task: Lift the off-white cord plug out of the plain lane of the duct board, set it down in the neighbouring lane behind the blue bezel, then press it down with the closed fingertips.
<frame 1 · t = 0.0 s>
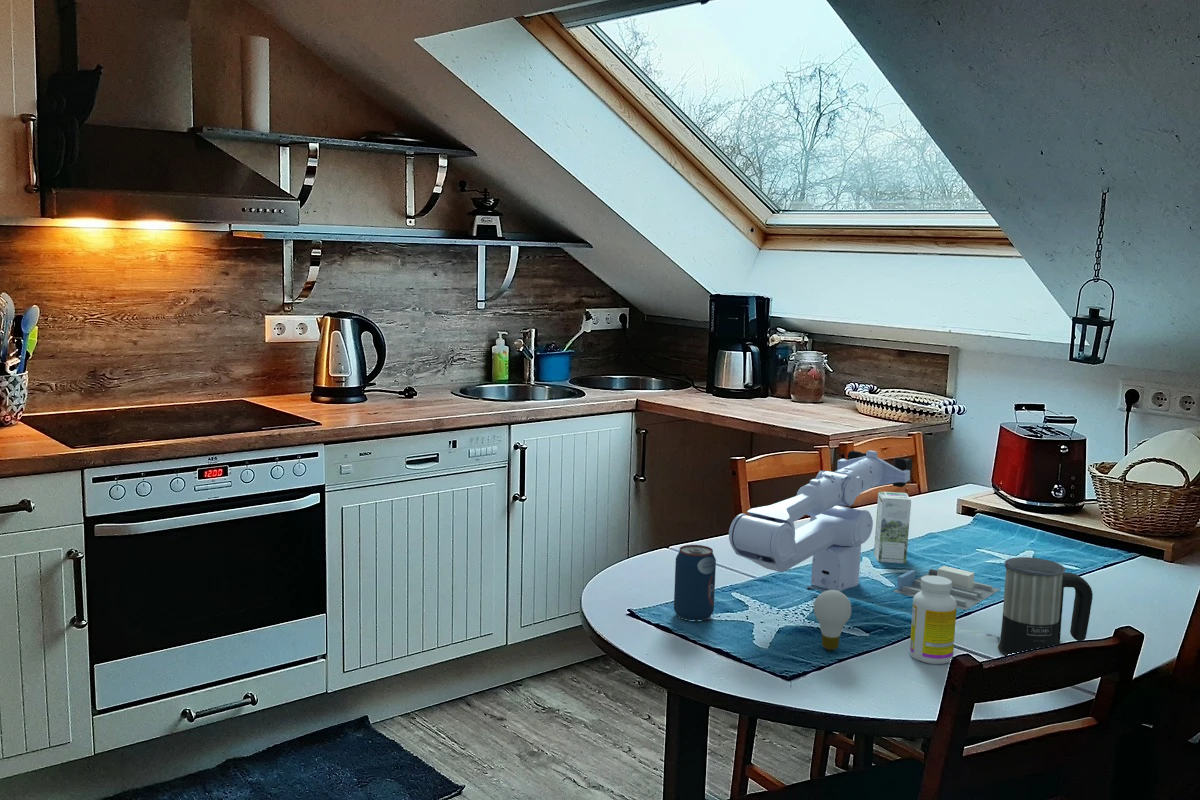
hand: (892, 460, 217), 22 cm above the table, tool horizontal, fingers open, 7 cm apart
supplement bottle: (930, 658, 172), on the table
light bulb: (829, 651, 174), on the table
duct board: (946, 595, 202), on the table
soda can: (693, 617, 188), on the table
milk frother: (1026, 645, 179), on the table
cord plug: (954, 586, 205), point 1 cm above the table, touching duct board
syrup box: (889, 564, 221), on the table
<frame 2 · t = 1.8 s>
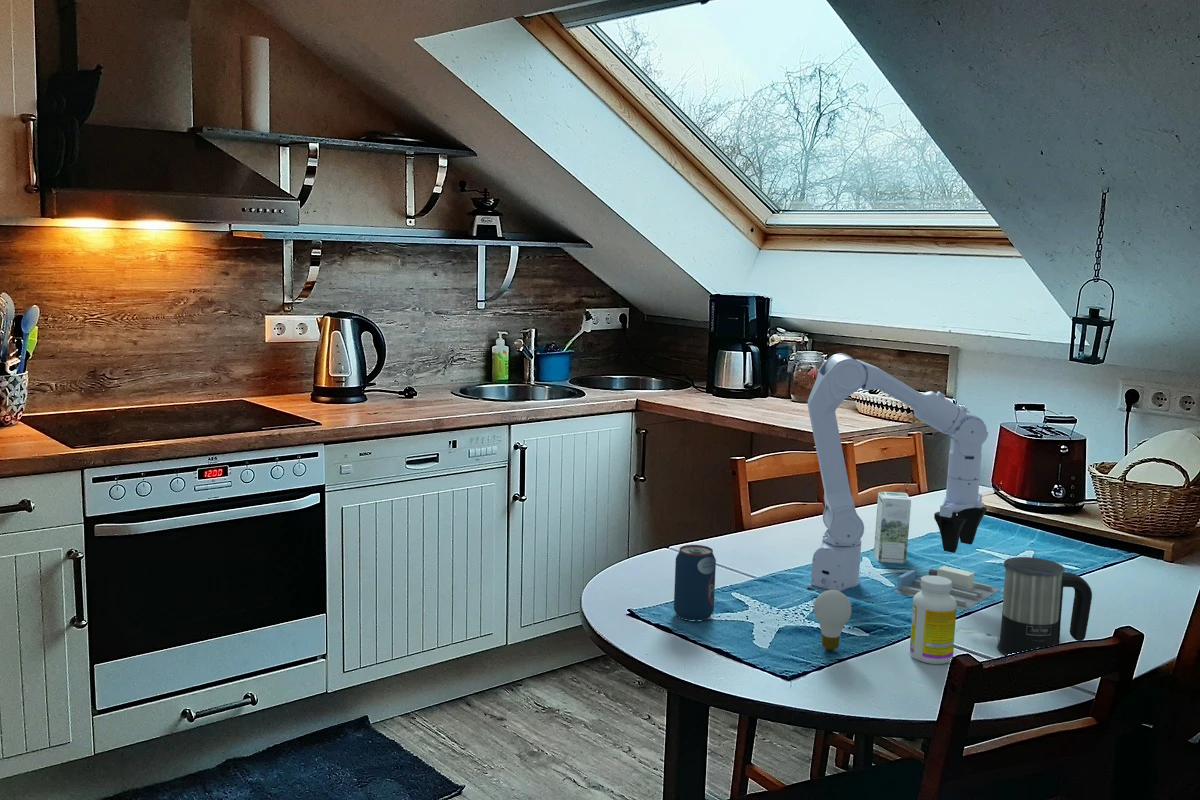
hand: (958, 547, 204), 9 cm above the table, tool pointing down, fingers open, 7 cm apart
nothing on the table moved.
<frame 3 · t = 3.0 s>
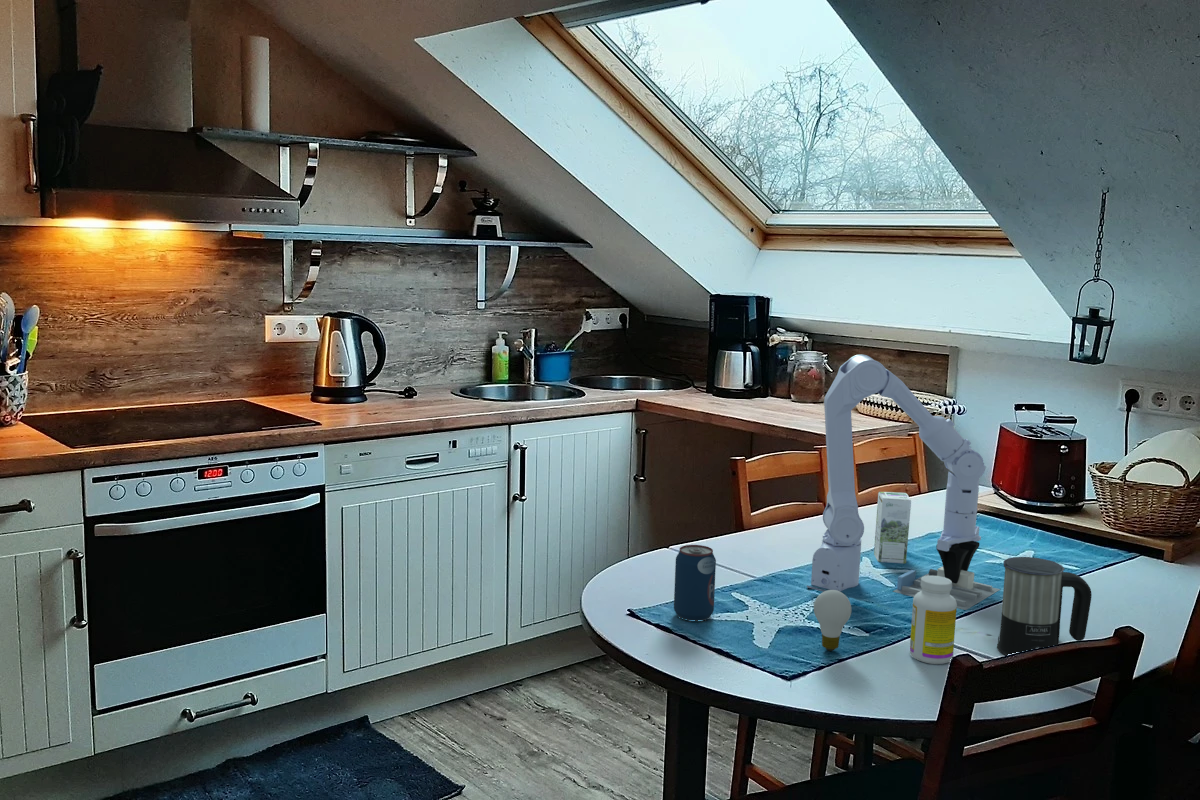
hand: (955, 579, 204), 2 cm above the table, tool pointing down, fingers closed on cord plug, 3 cm apart
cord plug: (954, 586, 205), point 1 cm above the table, touching duct board, gripper
everything else where it was.
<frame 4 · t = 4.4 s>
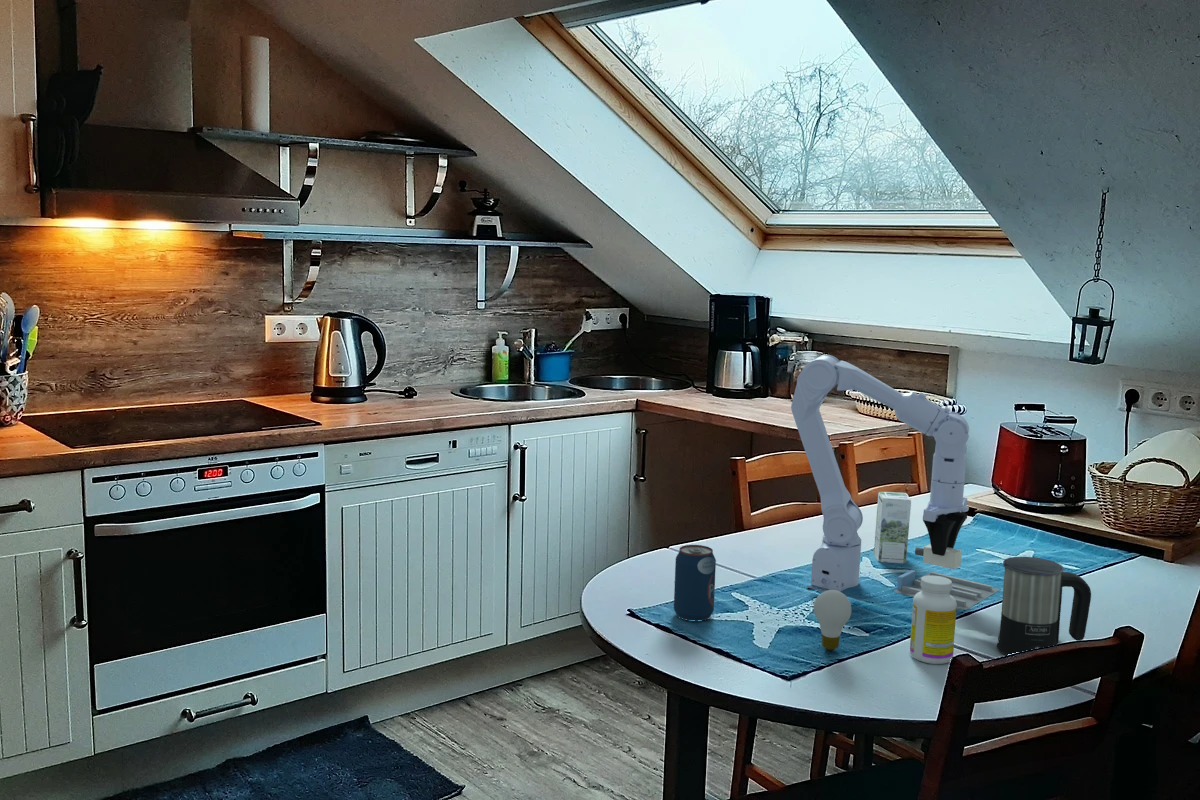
hand: (942, 552, 198), 9 cm above the table, tool pointing down, fingers closed on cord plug, 3 cm apart
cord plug: (941, 564, 199), point 7 cm above the table, touching gripper
everything else where it was.
when the fingers open (3 cm above the table, at t = 5.7 s): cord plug stays where it is, resting on duct board.
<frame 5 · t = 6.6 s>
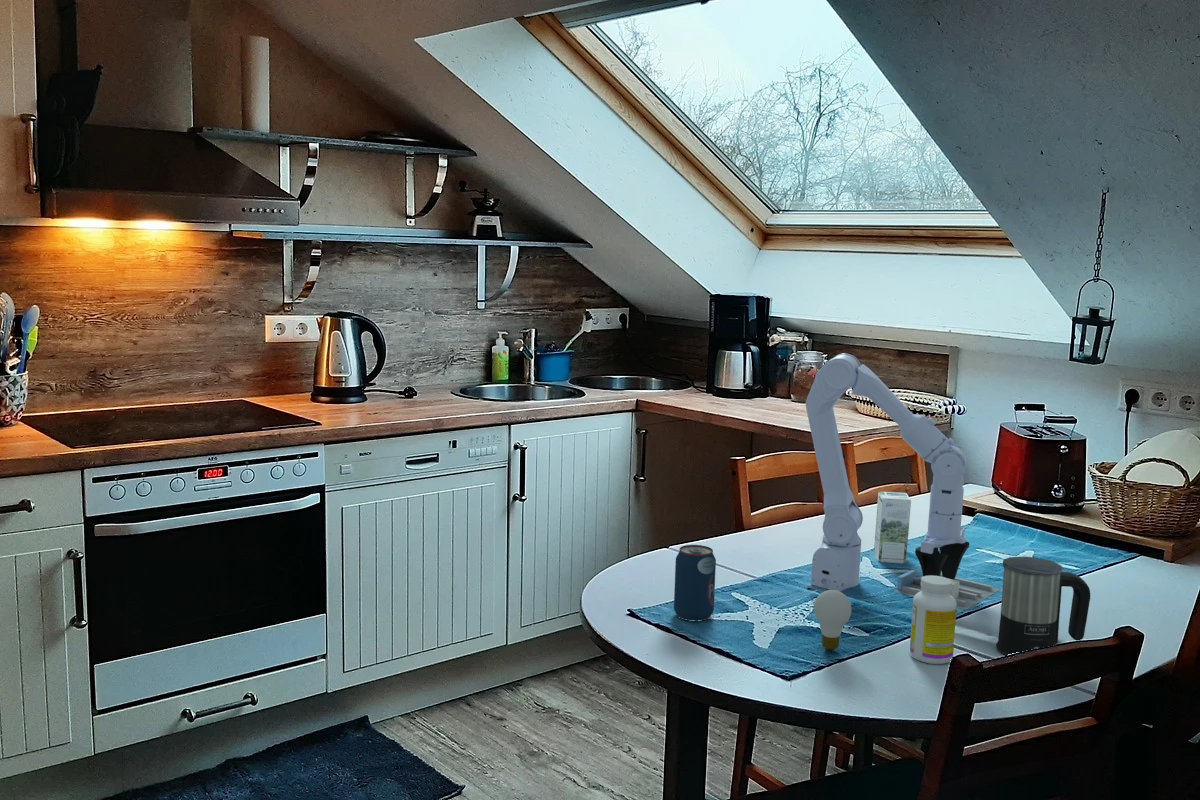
hand: (939, 583, 199), 3 cm above the table, tool pointing down, fingers open, 7 cm apart
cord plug: (939, 594, 199), point 1 cm above the table, touching duct board
everything else where it was.
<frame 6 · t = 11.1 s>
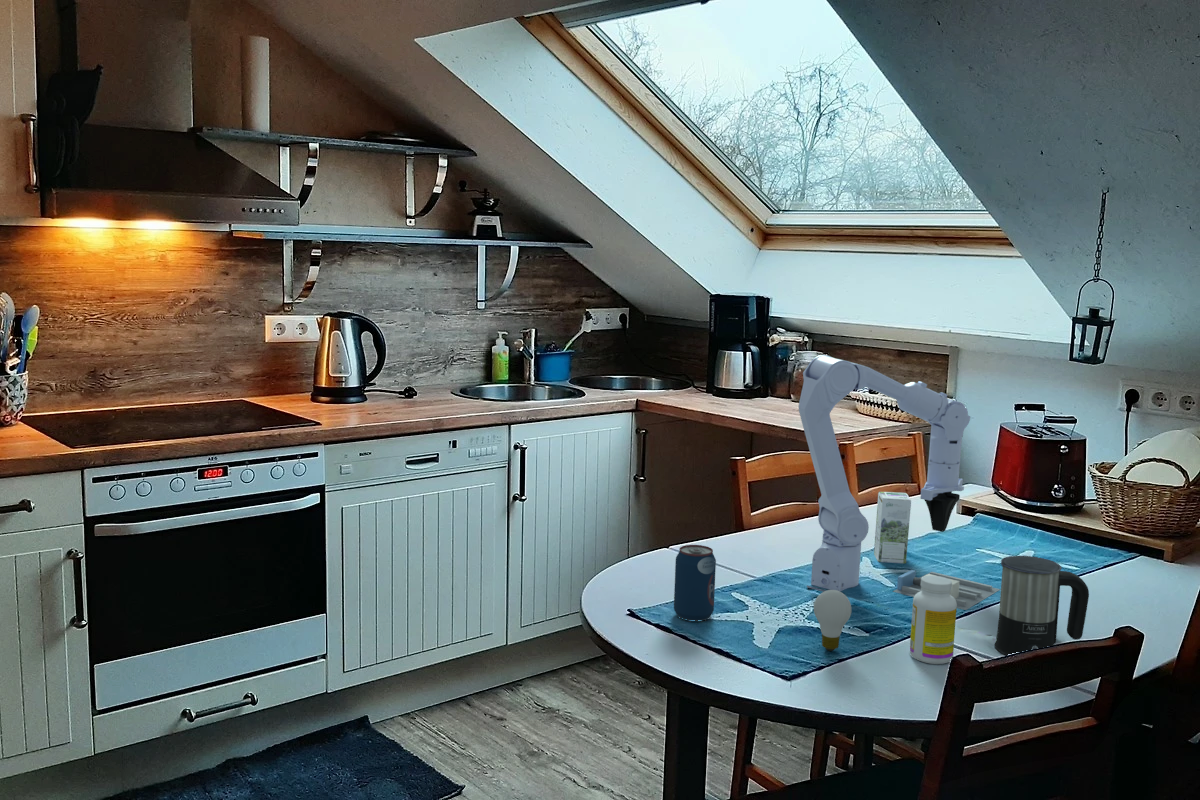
hand: (938, 530, 208), 10 cm above the table, tool pointing down, fingers closed
nothing on the table moved.
at the end: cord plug 0.1 cm from the target spot on the duct board, point 1.0 cm above the duct board's base; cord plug tilted 0°; the gripper is holding nothing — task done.
